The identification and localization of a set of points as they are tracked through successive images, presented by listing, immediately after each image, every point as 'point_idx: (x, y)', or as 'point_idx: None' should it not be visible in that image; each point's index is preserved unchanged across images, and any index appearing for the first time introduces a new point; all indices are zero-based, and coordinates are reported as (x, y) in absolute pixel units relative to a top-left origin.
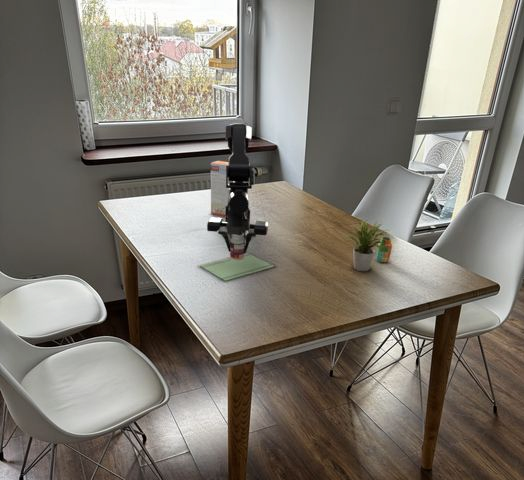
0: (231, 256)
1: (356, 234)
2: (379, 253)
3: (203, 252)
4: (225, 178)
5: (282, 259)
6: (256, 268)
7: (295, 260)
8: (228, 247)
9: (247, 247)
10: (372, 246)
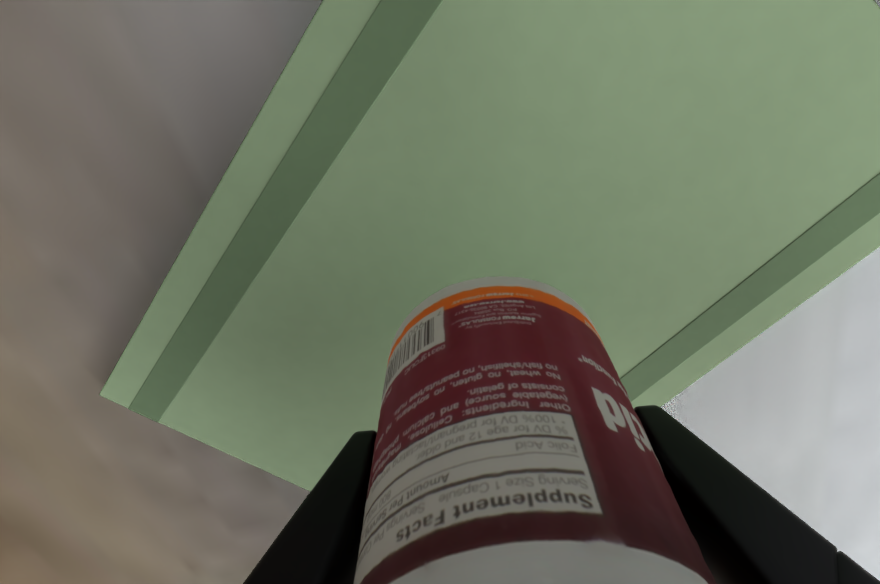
0: (584, 323)
1: None
2: None
3: (870, 492)
4: None
5: (137, 534)
6: (240, 291)
7: (30, 542)
8: (702, 460)
9: (292, 519)
10: None
